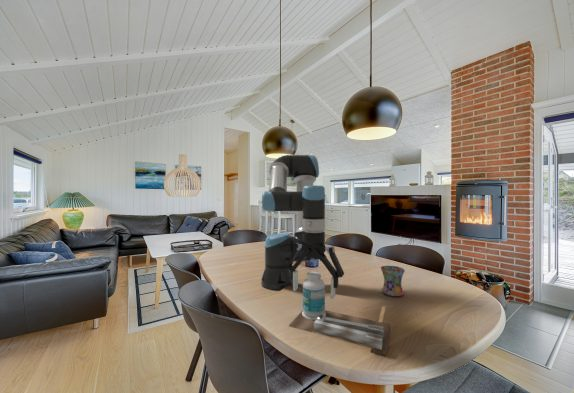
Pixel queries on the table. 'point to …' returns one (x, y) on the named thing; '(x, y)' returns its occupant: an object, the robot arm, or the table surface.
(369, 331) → the tong jaw
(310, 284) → the pill bottle
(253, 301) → the table surface
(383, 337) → the board
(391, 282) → the mug
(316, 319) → the rest pad
